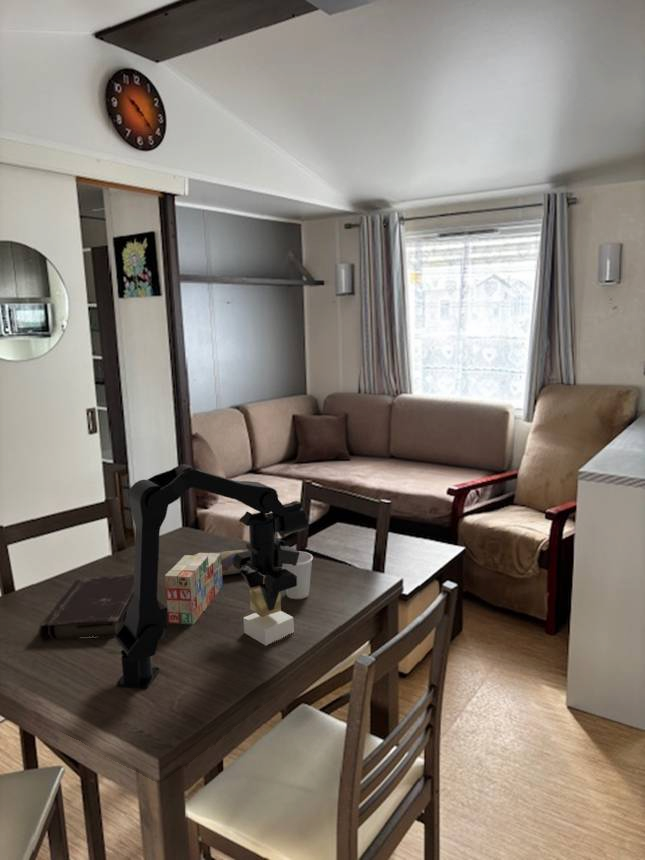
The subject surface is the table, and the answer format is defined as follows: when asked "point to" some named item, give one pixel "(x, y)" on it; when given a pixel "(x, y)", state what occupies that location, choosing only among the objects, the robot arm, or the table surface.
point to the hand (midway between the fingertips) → (265, 605)
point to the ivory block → (268, 626)
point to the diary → (91, 608)
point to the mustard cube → (262, 602)
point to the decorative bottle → (229, 561)
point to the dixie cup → (300, 576)
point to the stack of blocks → (192, 586)
